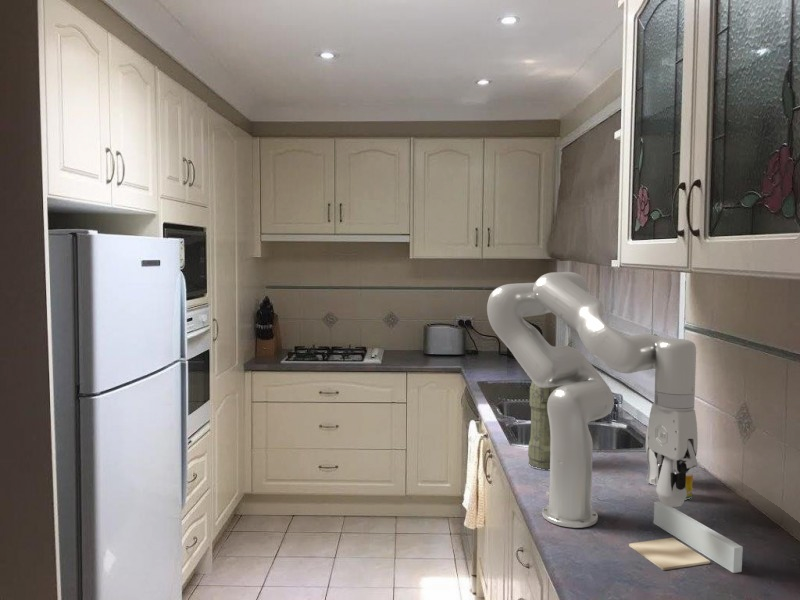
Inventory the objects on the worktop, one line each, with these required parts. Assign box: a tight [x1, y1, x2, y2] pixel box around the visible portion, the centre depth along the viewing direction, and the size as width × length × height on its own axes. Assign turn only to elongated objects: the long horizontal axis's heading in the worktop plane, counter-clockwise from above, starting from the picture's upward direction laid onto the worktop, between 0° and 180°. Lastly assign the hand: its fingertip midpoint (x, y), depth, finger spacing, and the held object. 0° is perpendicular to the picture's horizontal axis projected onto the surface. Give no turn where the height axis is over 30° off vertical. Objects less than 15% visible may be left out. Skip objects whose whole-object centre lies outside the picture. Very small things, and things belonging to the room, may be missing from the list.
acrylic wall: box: [653, 501, 744, 574], centre depth 138 cm, size 24×2×5 cm, turn 16°
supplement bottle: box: [685, 468, 694, 500], centre depth 166 cm, size 5×5×10 cm
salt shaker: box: [655, 456, 687, 508], centre depth 133 cm, size 6×6×13 cm
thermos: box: [527, 345, 560, 469], centre depth 188 cm, size 9×12×35 cm
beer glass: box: [645, 426, 660, 485], centre depth 175 cm, size 7×7×15 cm
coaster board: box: [628, 537, 711, 571], centre depth 135 cm, size 11×11×1 cm
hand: (671, 487), depth 133 cm, fingers closed on salt shaker, 3 cm apart
